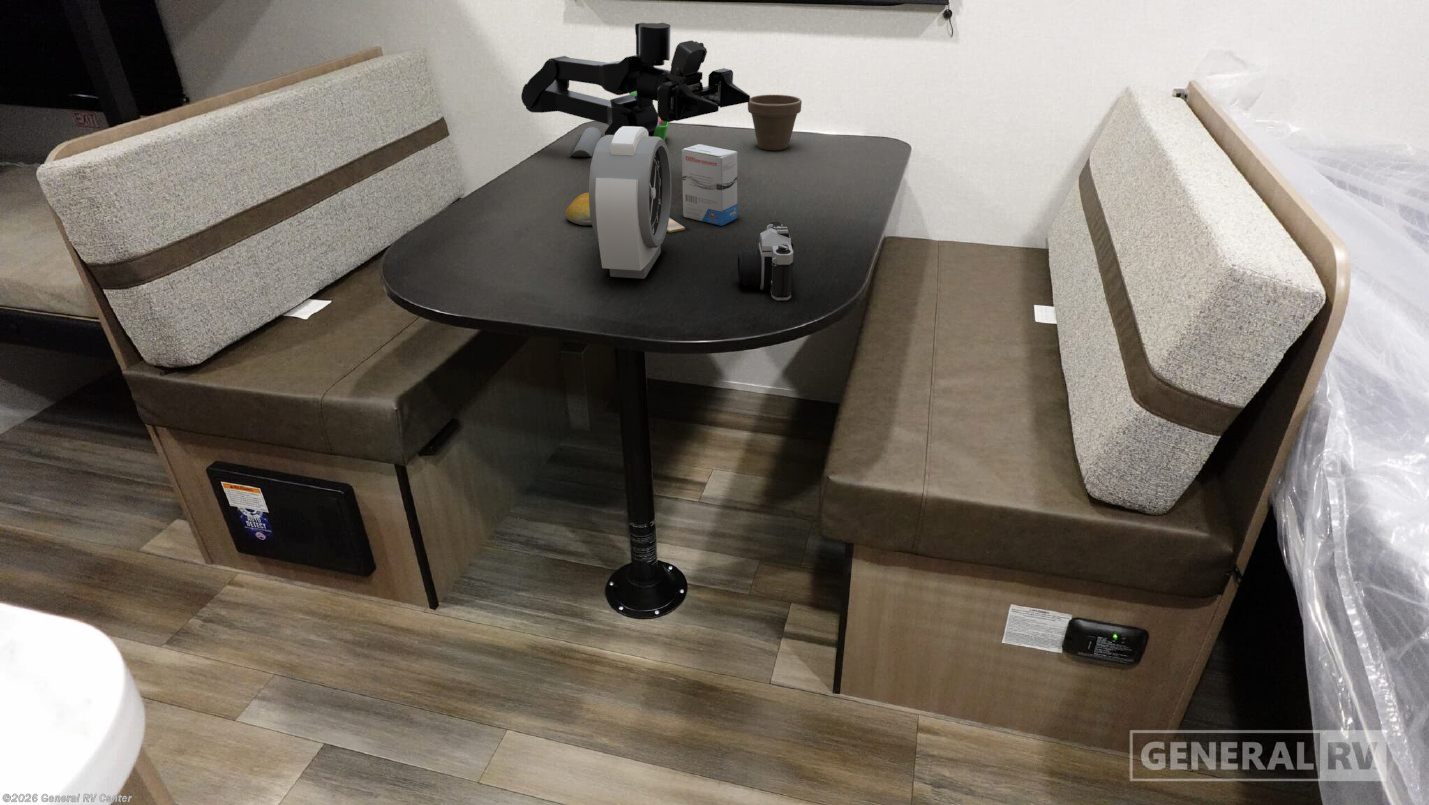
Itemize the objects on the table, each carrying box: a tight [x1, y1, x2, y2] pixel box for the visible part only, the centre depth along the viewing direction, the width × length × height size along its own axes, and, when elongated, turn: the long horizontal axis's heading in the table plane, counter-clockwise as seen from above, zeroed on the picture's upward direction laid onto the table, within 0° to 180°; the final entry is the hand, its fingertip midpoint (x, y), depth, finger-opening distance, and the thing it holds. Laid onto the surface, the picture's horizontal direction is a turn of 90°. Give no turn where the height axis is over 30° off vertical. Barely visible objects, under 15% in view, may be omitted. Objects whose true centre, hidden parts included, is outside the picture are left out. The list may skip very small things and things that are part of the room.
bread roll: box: [565, 191, 592, 226], centre depth 151 cm, size 8×9×4 cm
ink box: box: [681, 143, 738, 227], centre depth 149 cm, size 8×5×12 cm, turn 53°
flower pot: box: [747, 94, 803, 151], centre depth 189 cm, size 12×11×10 cm
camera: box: [737, 221, 795, 301], centre depth 125 cm, size 13×8×9 cm, turn 5°
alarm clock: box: [588, 126, 673, 280], centre depth 129 cm, size 18×8×20 cm, turn 170°
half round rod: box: [571, 126, 602, 158], centre depth 192 cm, size 4×20×2 cm, turn 0°
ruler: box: [666, 217, 686, 234], centre depth 152 cm, size 16×3×1 cm, turn 29°
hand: (734, 103), depth 154 cm, fingers open, 9 cm apart
